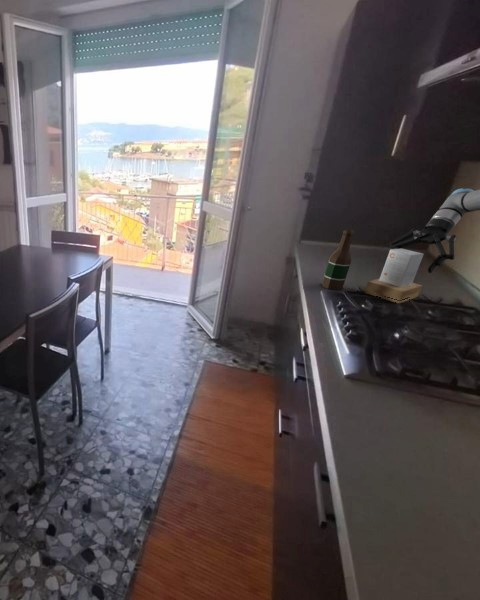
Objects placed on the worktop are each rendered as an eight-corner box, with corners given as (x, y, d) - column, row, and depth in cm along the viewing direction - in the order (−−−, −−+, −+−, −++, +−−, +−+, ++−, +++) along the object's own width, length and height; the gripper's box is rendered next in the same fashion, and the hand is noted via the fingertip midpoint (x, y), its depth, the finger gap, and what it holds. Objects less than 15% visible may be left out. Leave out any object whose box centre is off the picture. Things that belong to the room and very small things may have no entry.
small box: (411, 286, 138) (424, 253, 133) (399, 287, 136) (412, 254, 131) (390, 279, 145) (402, 248, 140) (378, 280, 144) (389, 249, 138)
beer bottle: (346, 291, 146) (365, 233, 137) (325, 289, 148) (343, 232, 138) (337, 284, 153) (354, 229, 144) (317, 283, 155) (333, 228, 145)
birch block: (417, 297, 141) (422, 285, 139) (398, 303, 135) (403, 291, 133) (382, 287, 150) (386, 275, 148) (364, 292, 145) (368, 281, 143)
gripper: (484, 236, 132) (449, 280, 132) (404, 224, 152) (373, 262, 152) (485, 223, 127) (448, 269, 127) (402, 212, 148) (370, 252, 148)
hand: (407, 265), depth 140 cm, fingers open, 13 cm apart
